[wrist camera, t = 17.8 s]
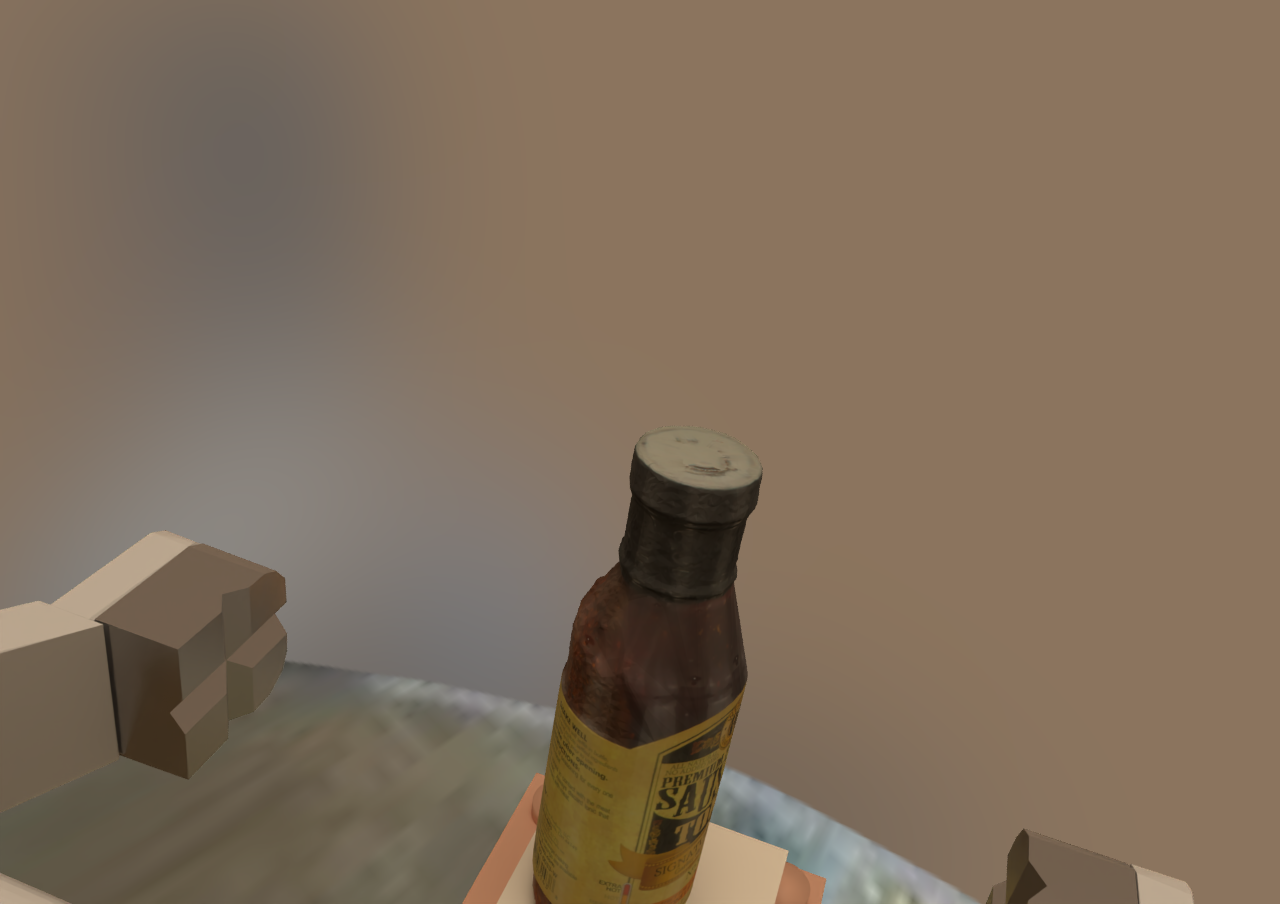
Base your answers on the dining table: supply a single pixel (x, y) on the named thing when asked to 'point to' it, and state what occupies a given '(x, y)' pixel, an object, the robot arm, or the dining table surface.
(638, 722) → the sauce bottle
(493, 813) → the dining table surface
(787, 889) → the brick stack
